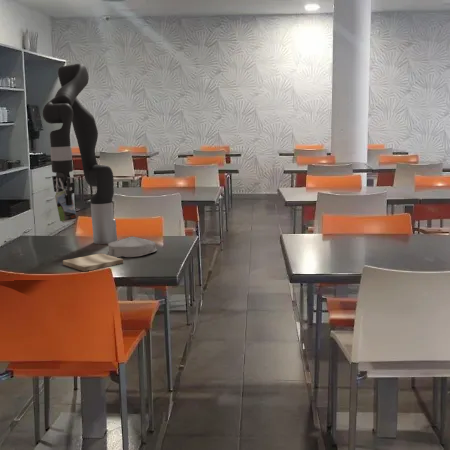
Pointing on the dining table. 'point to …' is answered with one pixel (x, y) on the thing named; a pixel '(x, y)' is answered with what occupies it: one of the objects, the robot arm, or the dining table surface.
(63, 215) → the beverage can
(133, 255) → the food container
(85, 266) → the coaster board
